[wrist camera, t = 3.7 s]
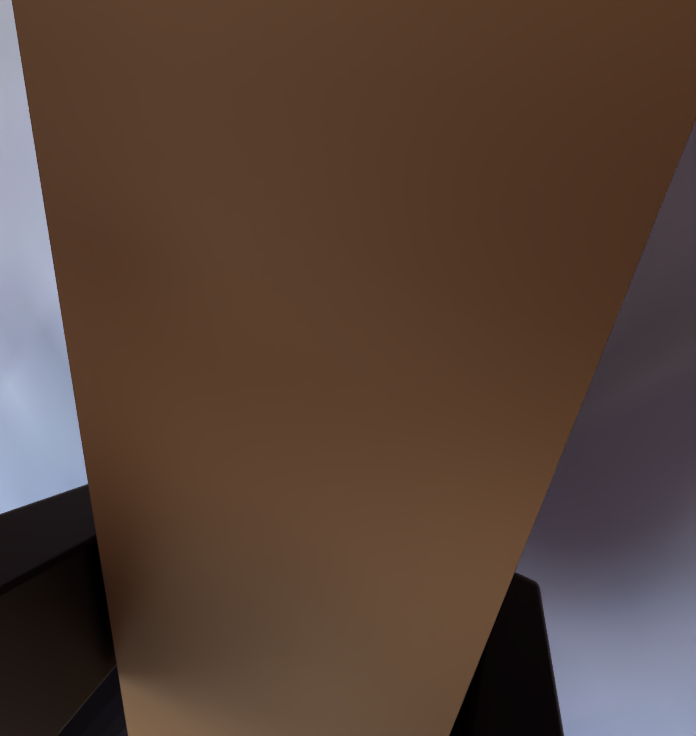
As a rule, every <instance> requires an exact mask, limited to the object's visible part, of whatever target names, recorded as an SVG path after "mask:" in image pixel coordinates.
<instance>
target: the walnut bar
mask: <svg viewBox="0 0 696 736" xmlns="http://www.w3.org/2000/svg"><path fill="white" fill-rule="evenodd" d="M12 5H13V11H14V18H15V24H16V30H17V37H18V43H19V49H20V56H21V62H22V68H23V74H24V81H25V87H26V93H27V100H28V106H29V112H30V119H31V125H32V131H33V138H34V144H35V150H36V157H37V163H38V169H39V176H40V182H41V188H42V195H43V201H44V207H45V214H46V220H47V226H48V232H49V239H50V245H51V251H52V258H53V264H54V270H55V277H56V283H57V289H58V296H59V302H60V308H61V315H62V321H63V327H64V334H65V340H66V346H67V353H68V359H69V365H70V372H71V378H72V384H73V390H74V397H75V403H76V409H77V416H78V422H79V428H80V435H81V441H82V447H83V454H84V460H85V466H86V473H87V479H88V485H89V492H90V498H91V504H92V511H93V517H94V523H95V530H96V536H97V542H98V548H99V555H100V561H101V567H102V574H103V580H104V586H105V593H106V599H107V605H108V612H109V618H110V624H111V631H112V637H113V643H114V650H115V656H116V662H117V669H118V675H119V681H120V688H121V694H122V700H123V706H124V713H125V719H126V725H127V732H128V736H449V735H450V732H451V730H452V727H453V725H454V722H455V720H456V717H457V715H458V712H459V710H460V707H461V705H462V702H463V700H464V697H465V695H466V692H467V690H468V687H469V685H470V682H471V680H472V677H473V675H474V672H475V670H476V667H477V665H478V662H479V660H480V657H481V655H482V652H483V650H484V647H485V645H486V642H487V640H488V637H489V635H490V632H491V630H492V627H493V625H494V622H495V620H496V617H497V615H498V612H499V610H500V607H501V605H502V602H503V600H504V597H505V595H506V592H507V590H508V587H509V585H510V582H511V580H512V577H513V575H514V572H515V570H516V567H517V565H518V562H519V560H520V557H521V555H522V552H523V550H524V547H525V545H526V542H527V540H528V537H529V535H530V532H531V530H532V527H533V525H534V522H535V520H536V517H537V515H538V512H539V510H540V507H541V505H542V502H543V500H544V497H545V495H546V492H547V490H548V487H549V485H550V482H551V480H552V477H553V475H554V472H555V470H556V467H557V465H558V462H559V460H560V457H561V455H562V452H563V450H564V447H565V445H566V442H567V440H568V437H569V435H570V432H571V430H572V427H573V425H574V422H575V420H576V417H577V415H578V412H579V410H580V407H581V405H582V402H583V400H584V397H585V395H586V393H587V390H588V388H589V385H590V383H591V380H592V378H593V375H594V373H595V370H596V368H597V365H598V363H599V360H600V358H601V355H602V353H603V350H604V348H605V345H606V343H607V340H608V338H609V335H610V333H611V330H612V328H613V325H614V323H615V320H616V318H617V315H618V313H619V310H620V308H621V305H622V303H623V300H624V298H625V295H626V293H627V290H628V288H629V285H630V283H631V280H632V278H633V275H634V273H635V270H636V268H637V265H638V263H639V260H640V258H641V255H642V253H643V250H644V248H645V245H646V243H647V240H648V238H649V235H650V233H651V230H652V228H653V225H654V223H655V220H656V218H657V215H658V213H659V210H660V208H661V205H662V203H663V200H664V198H665V195H666V193H667V190H668V188H669V185H670V183H671V180H672V178H673V175H674V173H675V170H676V168H677V165H678V163H679V160H680V158H681V155H682V153H683V150H684V148H685V145H686V143H687V140H688V138H689V135H690V133H691V130H692V128H693V125H694V123H695V120H696V0H12Z"/></svg>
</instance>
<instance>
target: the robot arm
mask: <svg viewBox="0 0 696 736" xmlns="http://www.w3.org/2000/svg"><path fill="white" fill-rule="evenodd" d="M0 736H128V732H127V725H126V719H125V713H124V706H123V700H122V694H121V688H120V681H119V675H118V669H117V662H116V656H115V650H114V643H113V637H112V631H111V624H110V618H109V612H108V605H107V599H106V593H105V586H104V580H103V574H102V567H101V561H100V555H99V548H98V542H97V536H96V530H95V523H94V517H93V511H92V504H91V498H90V492H89V485H88V484H87V485H84V486H81V487H78V488H75V489H72V490H69V491H66V492H63V493H60V494H58V495H55V496H52V497H49V498H46V499H43V500H40V501H37V502H34V503H31V504H28V505H25V506H22V507H20V508H17V509H14V510H11V511H8V512H5V513H2V514H0ZM449 736H564V732H563V726H562V720H561V714H560V708H559V702H558V696H557V690H556V684H555V677H554V671H553V665H552V659H551V653H550V647H549V641H548V635H547V629H546V623H545V617H544V610H543V604H542V598H541V592H540V588H539V585H538V584H537V582H535V581H534V580H531V579H529V578H527V577H525V576H523V575H520V574H518V573H516V572H514V575H513V577H512V580H511V582H510V585H509V587H508V590H507V592H506V595H505V597H504V600H503V602H502V605H501V607H500V610H499V612H498V615H497V617H496V620H495V622H494V625H493V627H492V630H491V632H490V635H489V637H488V640H487V642H486V645H485V647H484V650H483V652H482V655H481V657H480V660H479V662H478V665H477V667H476V670H475V672H474V675H473V677H472V680H471V682H470V685H469V687H468V690H467V692H466V695H465V697H464V700H463V702H462V705H461V707H460V710H459V712H458V715H457V717H456V720H455V722H454V725H453V727H452V730H451V732H450V735H449Z"/></svg>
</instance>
